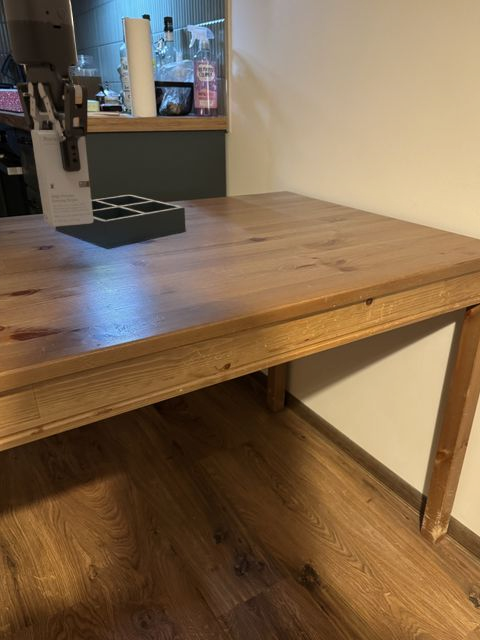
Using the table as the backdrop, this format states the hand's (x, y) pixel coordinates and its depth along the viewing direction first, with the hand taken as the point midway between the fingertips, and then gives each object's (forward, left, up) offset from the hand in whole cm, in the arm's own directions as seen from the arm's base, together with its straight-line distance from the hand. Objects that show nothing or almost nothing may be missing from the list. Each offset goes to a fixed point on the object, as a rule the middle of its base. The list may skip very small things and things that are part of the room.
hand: (62, 168), depth 68 cm
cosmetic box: (0, 0, -8) cm, 8 cm away
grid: (-15, +18, -14) cm, 27 cm away
